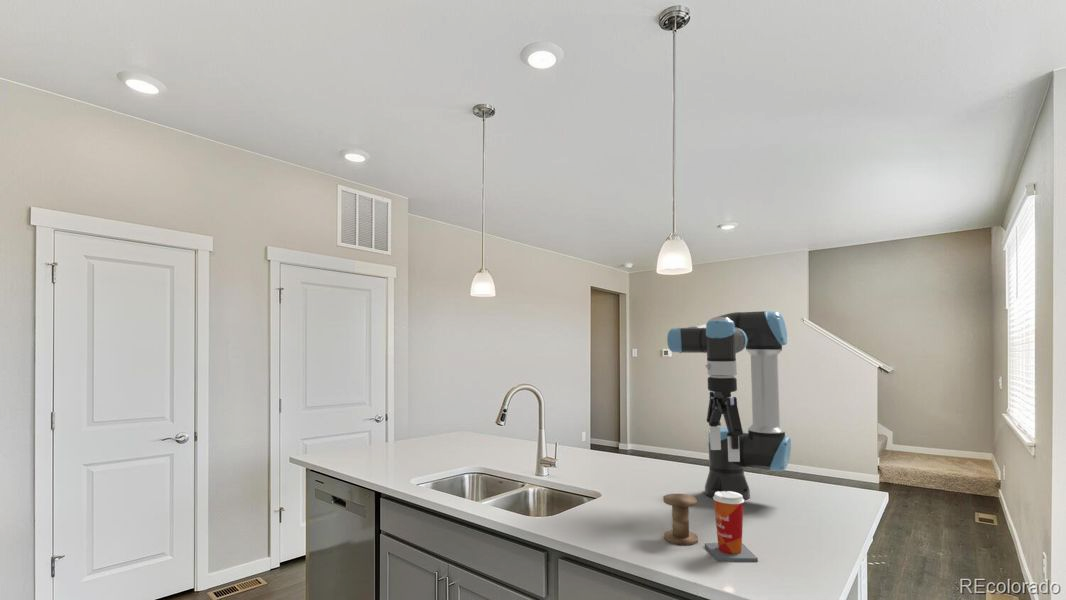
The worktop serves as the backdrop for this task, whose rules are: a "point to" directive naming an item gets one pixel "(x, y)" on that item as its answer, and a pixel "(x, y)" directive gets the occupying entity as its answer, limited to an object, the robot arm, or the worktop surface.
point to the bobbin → (680, 519)
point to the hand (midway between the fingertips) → (724, 455)
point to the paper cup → (729, 521)
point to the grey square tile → (724, 557)
